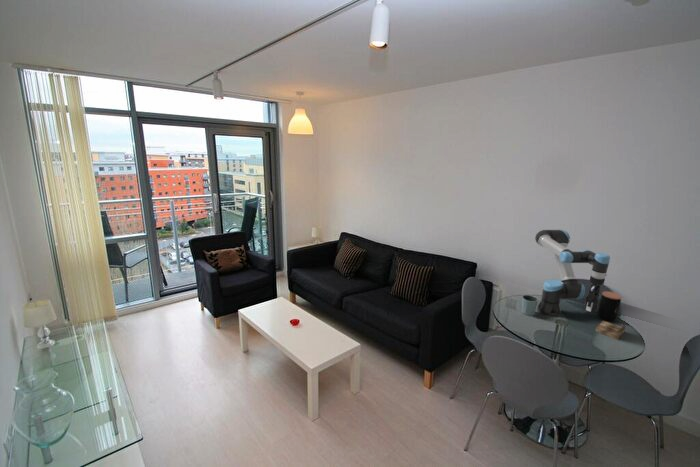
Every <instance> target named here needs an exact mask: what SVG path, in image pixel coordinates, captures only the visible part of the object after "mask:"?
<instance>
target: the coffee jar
mask: <svg viewBox="0 0 700 467" xmlns="http://www.w3.org/2000/svg"><path fill="white" fill-rule="evenodd" d="M621 299H622V296H621V295H620V294H618V293H617V292H614V291H607V290H606V291H602V292H601V296H600V299H599V304H598V308H597V317H598V316H599V317H600V319H601V318H602V319H601V320H602V321H606V322H614V321H616V320H617V318H618V314H619V310H620V305H621V301H622V300H621ZM599 317H598V318H599Z"/></svg>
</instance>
